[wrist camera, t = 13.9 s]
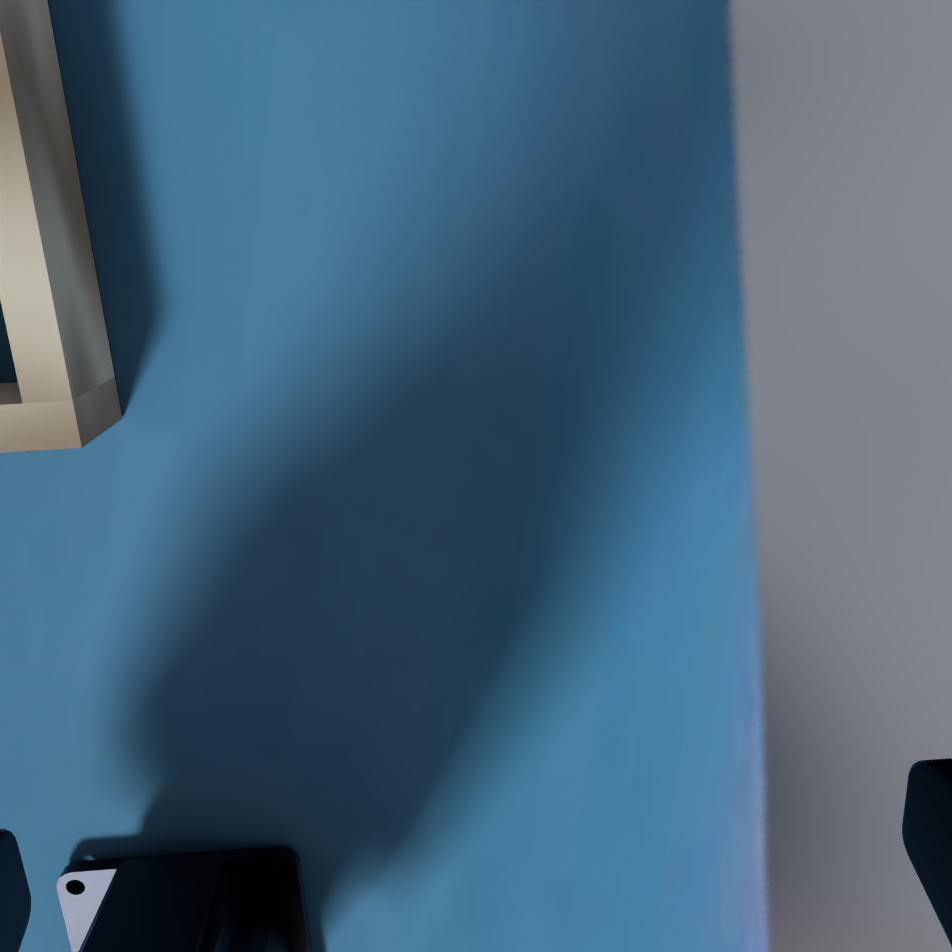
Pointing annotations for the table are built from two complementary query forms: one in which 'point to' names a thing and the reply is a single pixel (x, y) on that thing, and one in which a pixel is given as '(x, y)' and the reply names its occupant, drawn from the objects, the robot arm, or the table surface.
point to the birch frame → (46, 254)
